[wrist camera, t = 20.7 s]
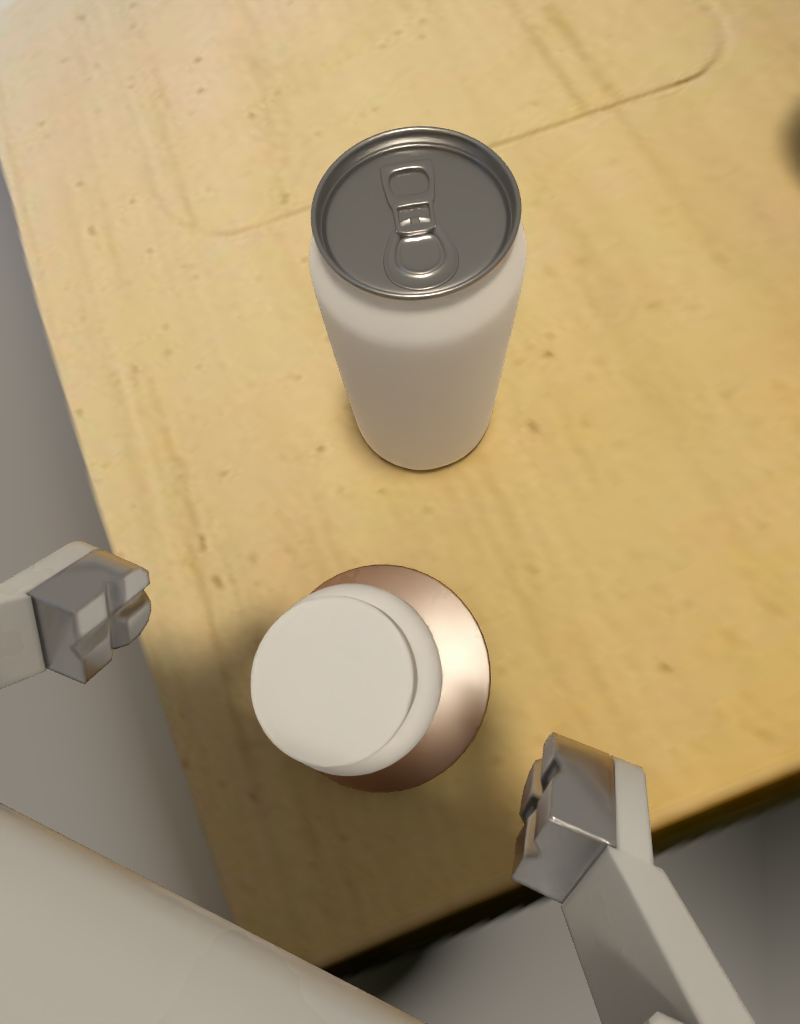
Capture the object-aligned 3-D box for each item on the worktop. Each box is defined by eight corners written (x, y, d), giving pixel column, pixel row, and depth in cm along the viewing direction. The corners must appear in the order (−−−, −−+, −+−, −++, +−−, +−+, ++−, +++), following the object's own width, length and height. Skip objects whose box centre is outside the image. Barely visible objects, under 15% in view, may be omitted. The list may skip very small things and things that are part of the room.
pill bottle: (295, 625, 23) (201, 601, 14) (417, 588, 23) (406, 538, 14) (327, 758, 21) (245, 834, 12) (456, 718, 22) (475, 762, 12)
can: (363, 482, 25) (303, 329, 13) (349, 360, 27) (286, 132, 15) (502, 463, 25) (561, 291, 13) (478, 341, 27) (514, 97, 15)
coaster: (529, 724, 22) (532, 726, 21) (328, 831, 21) (326, 835, 21) (428, 532, 24) (428, 529, 24) (245, 623, 24) (240, 622, 23)
